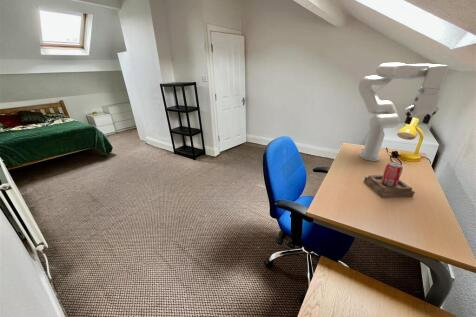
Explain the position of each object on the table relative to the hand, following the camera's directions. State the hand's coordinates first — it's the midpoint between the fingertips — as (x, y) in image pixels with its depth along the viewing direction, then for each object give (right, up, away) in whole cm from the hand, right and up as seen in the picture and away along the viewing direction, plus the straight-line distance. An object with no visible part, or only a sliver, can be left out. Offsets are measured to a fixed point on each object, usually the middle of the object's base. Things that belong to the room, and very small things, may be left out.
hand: (416, 123), depth 110 cm
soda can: (-16, -33, -1) cm, 37 cm away
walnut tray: (-16, -36, 0) cm, 40 cm away
